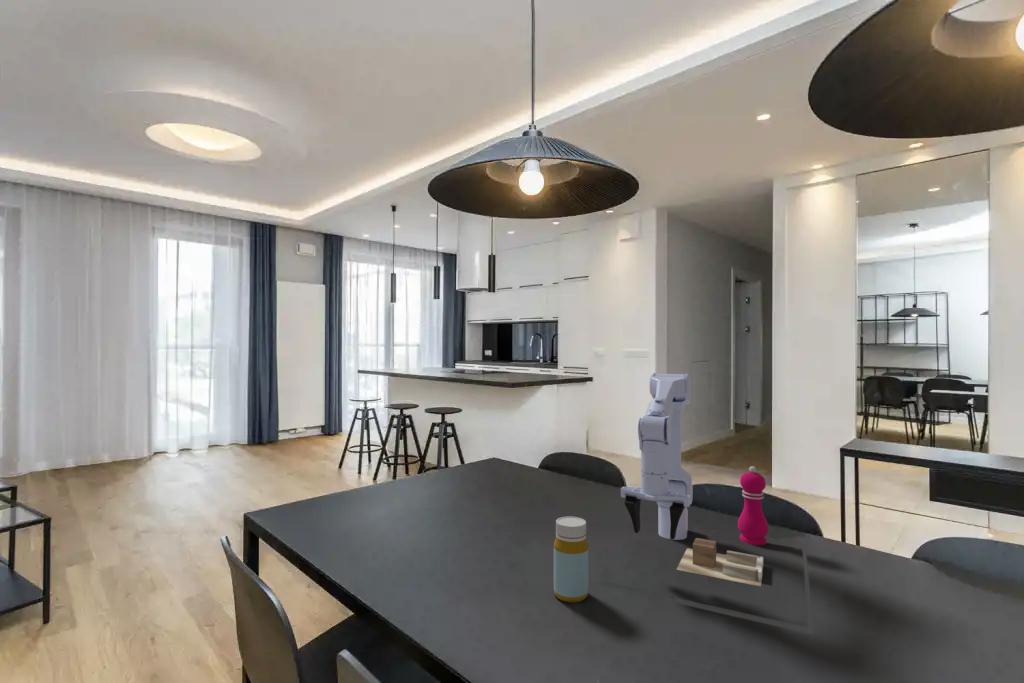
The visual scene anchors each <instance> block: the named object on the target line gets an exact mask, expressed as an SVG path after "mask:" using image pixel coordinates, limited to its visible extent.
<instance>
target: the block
mask: <svg viewBox="0 0 1024 683" xmlns="http://www.w3.org/2000/svg"><path fill="white" fill-rule="evenodd" d="M692 549H693V564H695V565H700V566H706V567H711V568H714V566H715V563H716V553H717V541H716V540H710V539H705V538H698V537H695V539H694V541H693V542H692Z"/></svg>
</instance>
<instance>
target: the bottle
mask: <svg viewBox="0 0 1024 683" xmlns="http://www.w3.org/2000/svg"><path fill="white" fill-rule="evenodd" d="M553 593H554V595H555V597H556V598H557V599H559V600H560V601H562V602H565V603H581V602H582V601H584V600H585V599H586V598H588V595H589V542H588V540H587V521H586V520H585V519H584V518H582V517H577V516H562V517H558V518H556V520H555V539H554V542H553Z"/></svg>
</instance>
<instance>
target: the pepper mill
mask: <svg viewBox="0 0 1024 683" xmlns="http://www.w3.org/2000/svg"><path fill="white" fill-rule="evenodd" d="M739 483H740V487H742V491H741V492H742V495H741V496H742V497H743V498H744V499H743V500H744V504H743V509H742V512H741V513H740V515H739V517H738V521H737V529H738V530H739V532H740V535H739V540H740V541H741V542H742V543H746V544H749V545H752V546H753V545H755V546H763V545H766V544H767V540H768V539H767V538H766V536H767V535H768V534H769V532H770V531H769V530H770V529H769V524H768V521H767V518H766V516H765V515H764V512H763V508H762V507H763V506H762V501H763V499H764V490H765V488H766V485H767V484H766V483H767V482H766V479H765V477H764V476H763V475H762V474H761V473H759V472H757V468H756V466H754V465H751V466H750V467H749V468H748V471H747V472H744V473H743V474H742V475H741V476H740V480H739Z"/></svg>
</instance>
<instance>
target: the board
mask: <svg viewBox="0 0 1024 683" xmlns="http://www.w3.org/2000/svg"><path fill="white" fill-rule="evenodd" d="M764 564H765V563H764V556H761V555H756V554H751V553H750V554H749V553H744V552H739V551H733V550H726V554H723V553H717V552H716V563H715V566H714V568H711V567H706V566H700V565H695V564H693V548H691V547H690V548H689V547H687V548H686V550H685V551H684V554H683V555H682V558H681V559H680V561H679V563H678V566H677V567H676V570H677V571H681V572H687V573H692V574H696V575H702V576H705V577H711V578H717V579H719V580H720V579H721V580H725V581H730V582H735V583H740V584H745V585H751V586H756V587H760V588H761V587H762V583H763V582H762V581H763V580H762V579H763V571H764Z"/></svg>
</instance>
